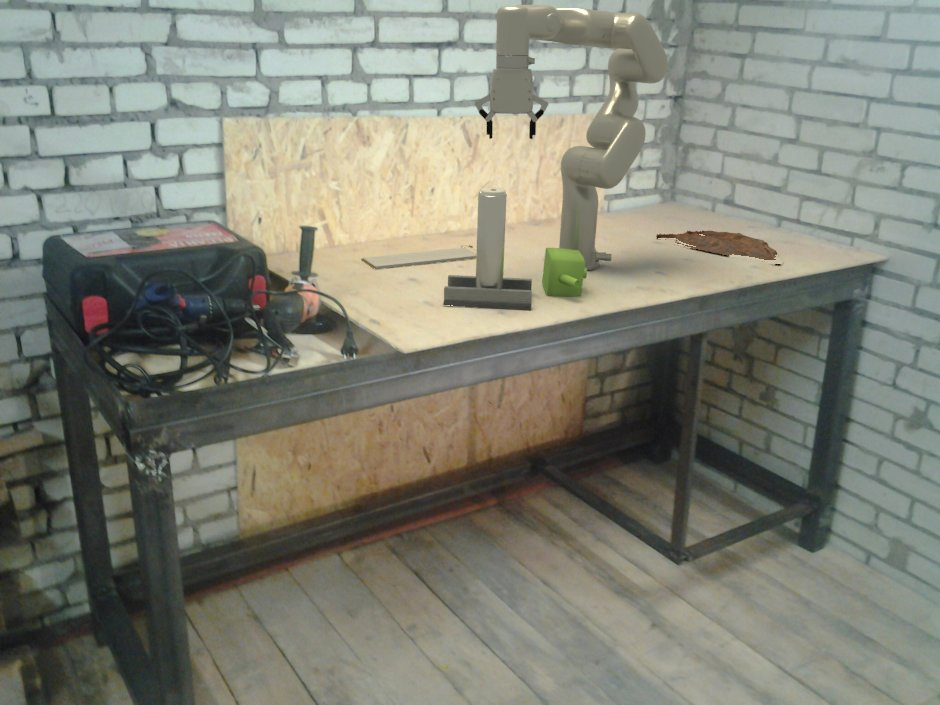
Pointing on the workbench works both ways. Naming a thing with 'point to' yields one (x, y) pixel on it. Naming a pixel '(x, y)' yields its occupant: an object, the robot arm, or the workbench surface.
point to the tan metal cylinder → (490, 238)
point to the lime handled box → (563, 272)
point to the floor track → (488, 293)
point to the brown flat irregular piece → (725, 243)
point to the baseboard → (419, 258)
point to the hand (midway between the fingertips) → (510, 138)
